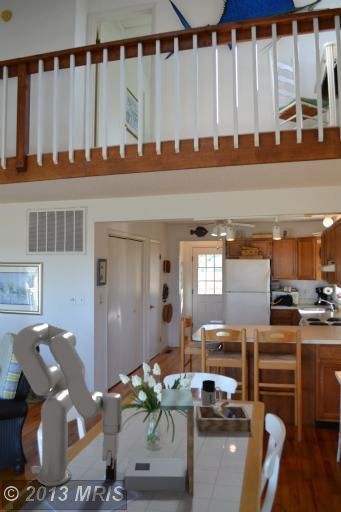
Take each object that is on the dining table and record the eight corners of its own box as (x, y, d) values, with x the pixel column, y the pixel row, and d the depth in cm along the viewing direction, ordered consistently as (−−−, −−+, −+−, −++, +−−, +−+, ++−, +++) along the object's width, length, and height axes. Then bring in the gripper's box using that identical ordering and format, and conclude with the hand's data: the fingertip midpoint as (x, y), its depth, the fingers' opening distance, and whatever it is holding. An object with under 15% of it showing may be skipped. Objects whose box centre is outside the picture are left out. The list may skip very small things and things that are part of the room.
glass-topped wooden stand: (159, 495, 139) (160, 405, 140) (161, 467, 159) (161, 389, 160) (193, 495, 139) (193, 405, 140) (190, 467, 159) (190, 389, 160)
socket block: (124, 490, 142) (124, 476, 142) (128, 470, 156) (128, 457, 156) (184, 490, 142) (184, 476, 142) (183, 471, 156) (183, 458, 156)
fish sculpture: (215, 392, 213) (217, 401, 198) (247, 409, 212) (252, 419, 197) (204, 412, 212) (206, 423, 197) (236, 430, 211) (241, 441, 196)
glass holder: (208, 403, 236) (208, 378, 237) (225, 410, 225) (225, 384, 226) (198, 406, 231) (198, 381, 231) (215, 413, 219) (215, 386, 220)
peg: (104, 482, 147) (105, 455, 147) (106, 477, 151) (107, 450, 151) (115, 482, 147) (115, 455, 147) (117, 477, 151) (117, 450, 151)
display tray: (198, 431, 195) (198, 419, 195) (196, 416, 215) (196, 405, 215) (250, 431, 195) (250, 419, 195) (243, 417, 215) (243, 406, 215)
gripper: (105, 418, 158) (105, 464, 157) (97, 436, 141) (97, 487, 141) (124, 418, 158) (123, 464, 157) (118, 436, 141) (117, 487, 141)
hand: (111, 474), depth 149 cm, fingers open, 4 cm apart
